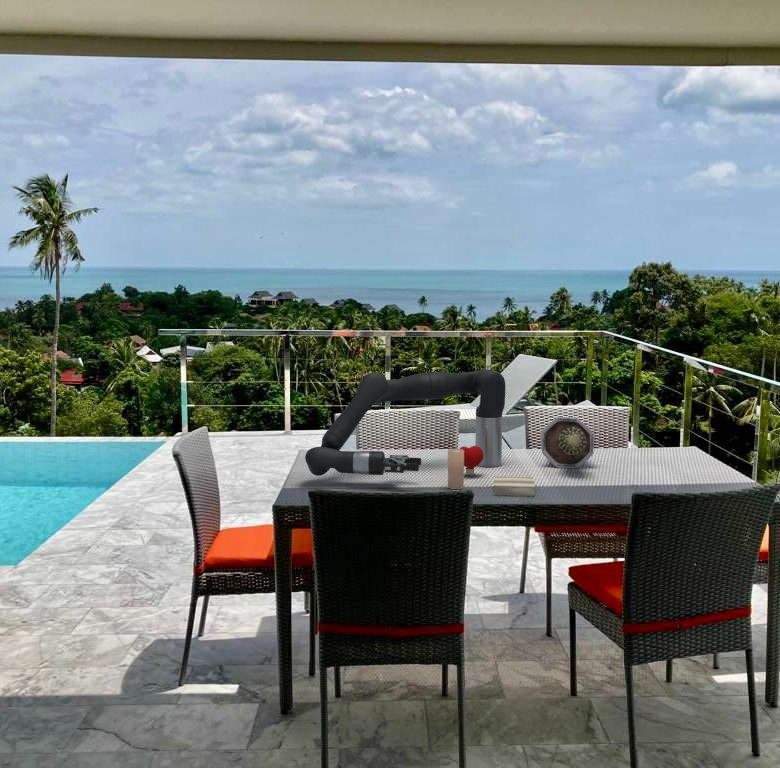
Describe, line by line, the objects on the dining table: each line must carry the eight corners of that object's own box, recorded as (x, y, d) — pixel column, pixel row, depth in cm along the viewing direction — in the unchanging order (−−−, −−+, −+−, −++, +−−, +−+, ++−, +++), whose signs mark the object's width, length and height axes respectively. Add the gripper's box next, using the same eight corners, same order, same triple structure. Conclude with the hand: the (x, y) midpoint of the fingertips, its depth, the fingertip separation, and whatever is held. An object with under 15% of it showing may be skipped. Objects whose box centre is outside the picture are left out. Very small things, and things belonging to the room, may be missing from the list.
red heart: (460, 479, 276) (460, 449, 274) (452, 474, 282) (453, 445, 281) (487, 477, 278) (487, 447, 277) (478, 472, 285) (479, 443, 284)
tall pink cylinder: (448, 485, 268) (448, 448, 266) (463, 486, 267) (464, 448, 266) (447, 489, 263) (447, 451, 261) (463, 490, 262) (463, 452, 261)
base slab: (494, 485, 267) (494, 476, 267) (532, 486, 266) (532, 477, 266) (494, 495, 256) (494, 485, 255) (534, 496, 254) (534, 487, 254)
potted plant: (539, 418, 306) (546, 411, 276) (590, 421, 304) (602, 415, 275) (537, 467, 304) (543, 465, 275) (587, 470, 302) (600, 469, 273)
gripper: (365, 455, 260) (418, 457, 258) (372, 446, 274) (422, 448, 272) (365, 479, 261) (418, 481, 259) (372, 469, 275) (421, 470, 273)
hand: (420, 464), depth 265 cm, fingers open, 8 cm apart
